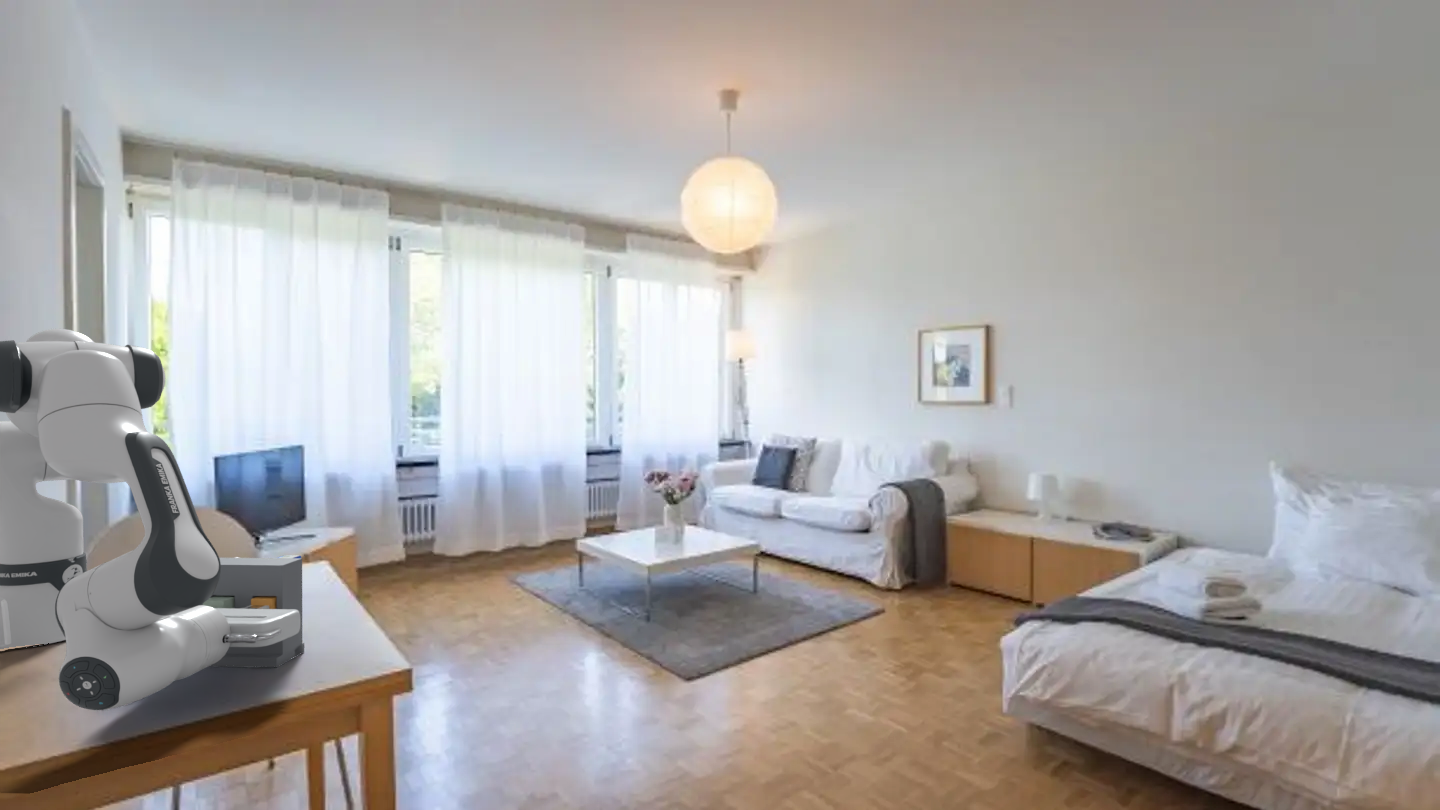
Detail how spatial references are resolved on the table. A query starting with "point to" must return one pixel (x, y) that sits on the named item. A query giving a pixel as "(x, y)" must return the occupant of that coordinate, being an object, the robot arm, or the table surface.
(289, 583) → the button panel
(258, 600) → the button orange
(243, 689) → the table surface
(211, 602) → the button sage
